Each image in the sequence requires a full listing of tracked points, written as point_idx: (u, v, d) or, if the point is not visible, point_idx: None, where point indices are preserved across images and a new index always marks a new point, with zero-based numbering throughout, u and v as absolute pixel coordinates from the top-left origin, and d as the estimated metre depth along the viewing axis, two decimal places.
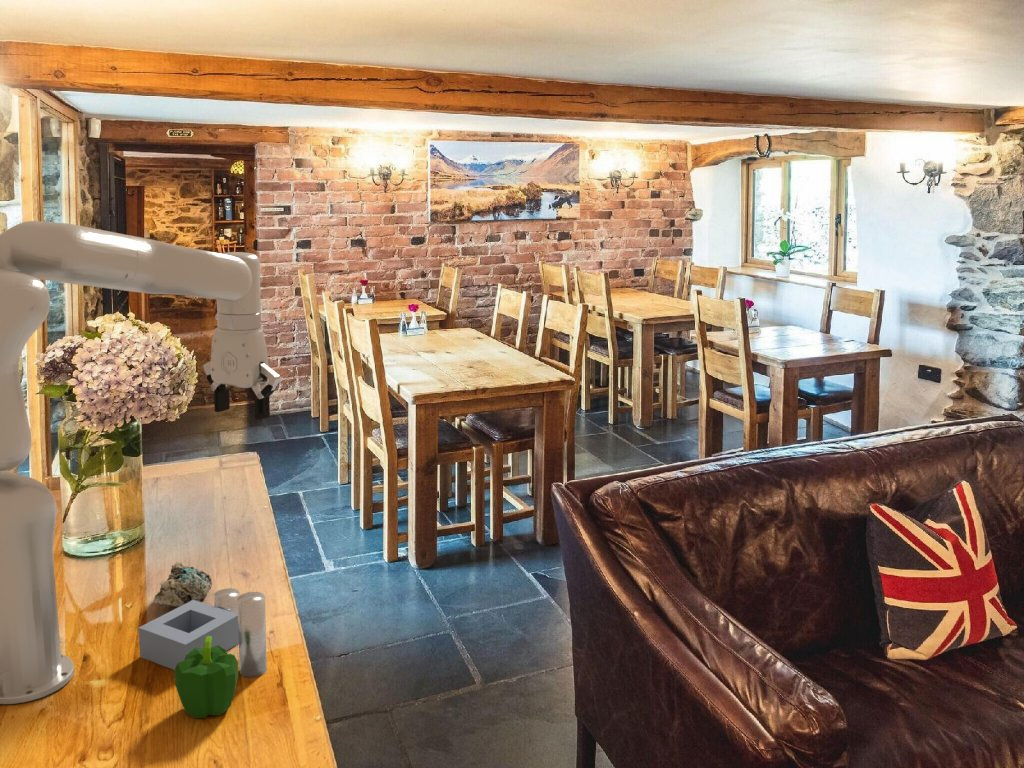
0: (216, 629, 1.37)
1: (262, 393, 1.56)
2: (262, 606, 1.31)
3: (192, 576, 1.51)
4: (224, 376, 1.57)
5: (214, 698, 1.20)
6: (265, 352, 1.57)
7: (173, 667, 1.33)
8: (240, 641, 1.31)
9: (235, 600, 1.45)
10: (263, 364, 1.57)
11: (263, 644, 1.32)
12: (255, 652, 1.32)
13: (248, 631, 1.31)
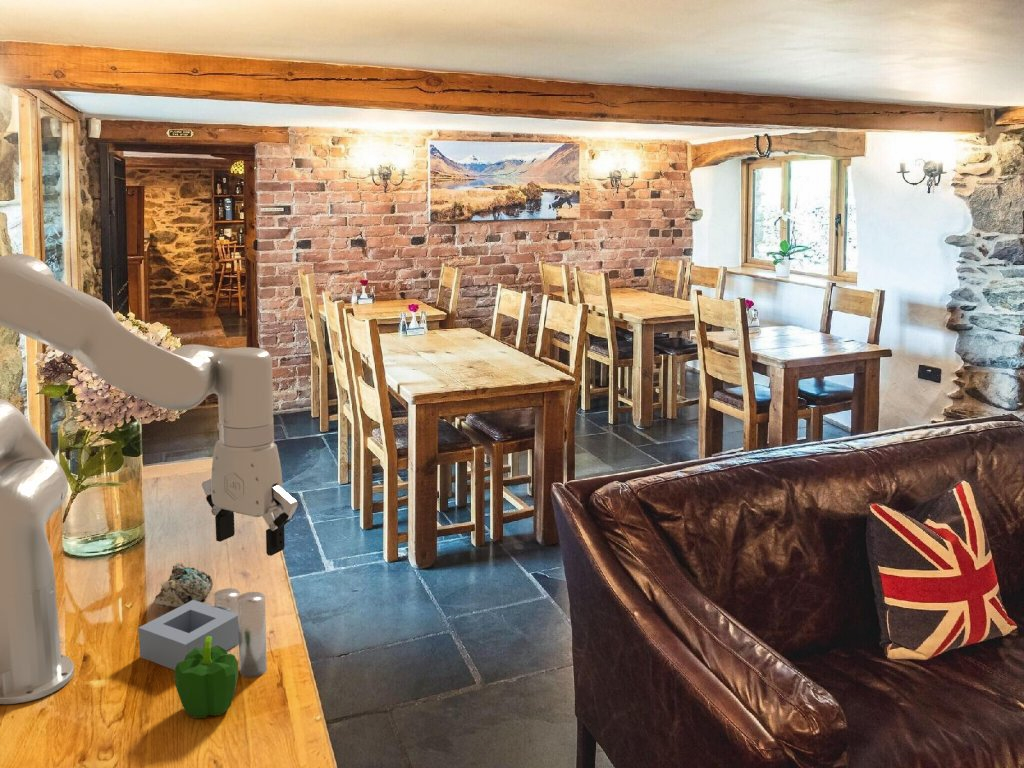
0: (216, 629, 1.37)
1: (275, 523, 1.25)
2: (262, 606, 1.31)
3: (193, 577, 1.51)
4: (228, 501, 1.26)
5: (214, 698, 1.20)
6: (279, 471, 1.26)
7: (173, 667, 1.33)
8: (240, 641, 1.31)
9: (235, 600, 1.45)
10: (277, 487, 1.25)
11: (263, 644, 1.32)
12: (255, 652, 1.31)
13: (248, 631, 1.31)
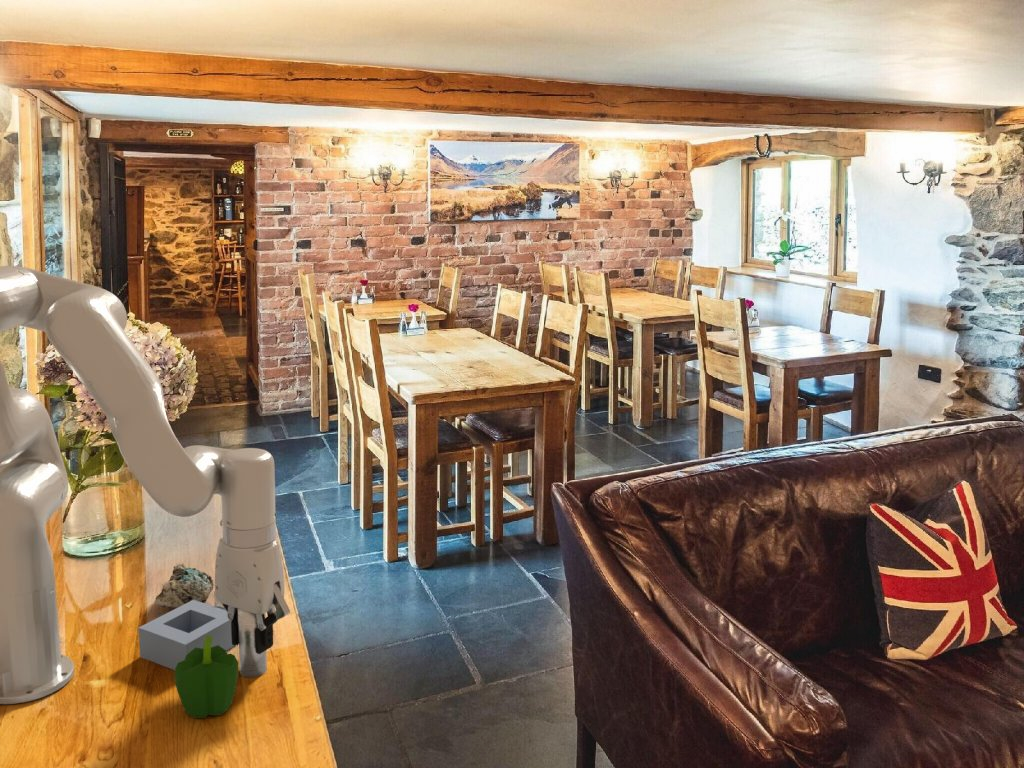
0: (216, 629, 1.37)
1: (265, 625, 1.30)
2: None
3: (193, 577, 1.51)
4: (231, 598, 1.29)
5: (215, 698, 1.20)
6: (281, 569, 1.29)
7: (173, 667, 1.33)
8: (240, 641, 1.31)
9: None
10: (276, 590, 1.29)
11: None
12: (255, 652, 1.31)
13: (249, 631, 1.31)
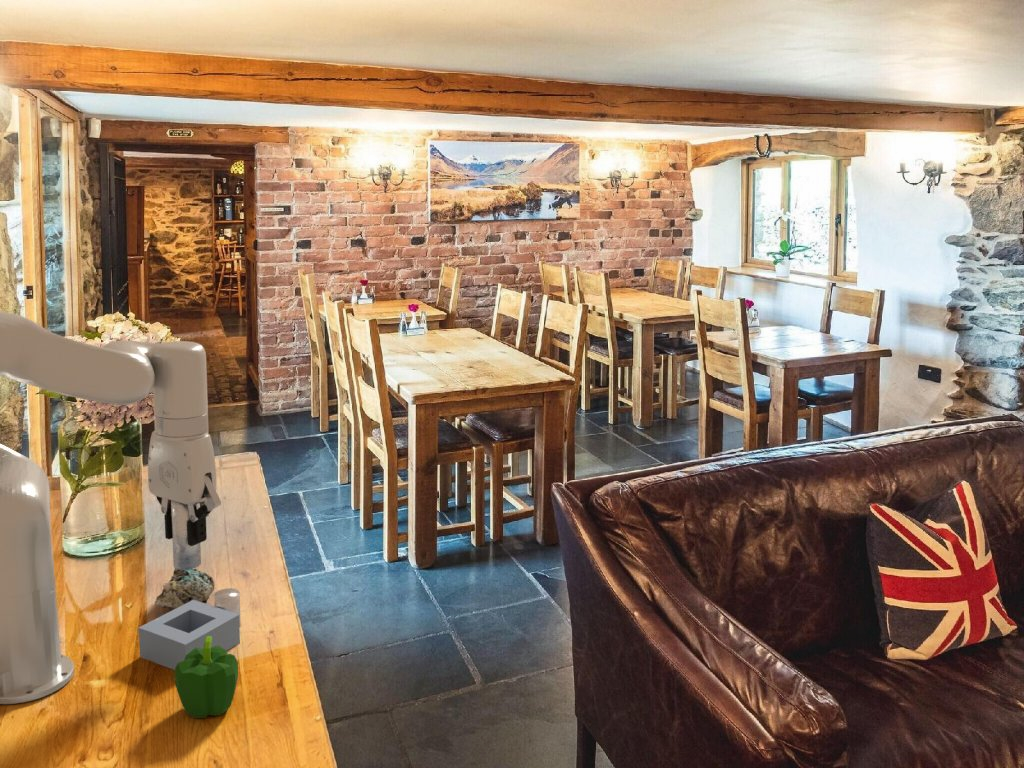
0: (216, 629, 1.37)
1: (196, 517, 1.31)
2: None
3: (194, 578, 1.51)
4: (163, 489, 1.31)
5: (214, 698, 1.20)
6: (212, 461, 1.31)
7: (173, 667, 1.33)
8: (173, 533, 1.33)
9: (235, 600, 1.45)
10: (208, 481, 1.31)
11: None
12: None
13: (181, 522, 1.32)
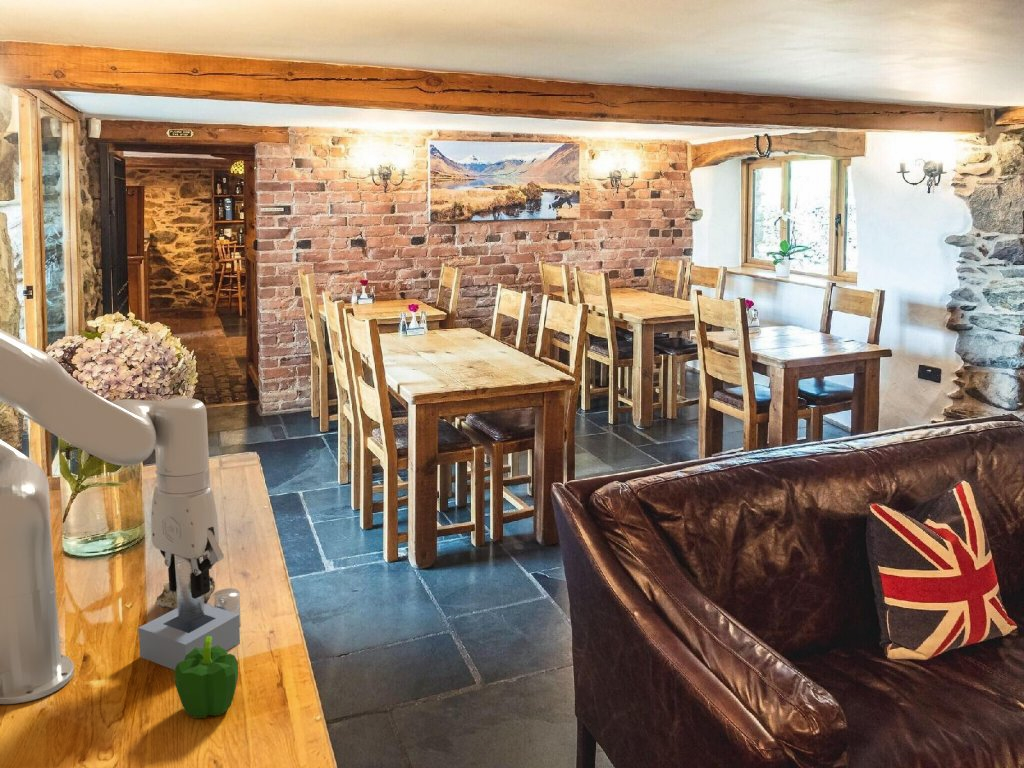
0: (216, 629, 1.37)
1: (200, 570, 1.33)
2: None
3: None
4: (166, 544, 1.33)
5: (214, 698, 1.20)
6: (214, 515, 1.33)
7: (173, 667, 1.33)
8: (177, 586, 1.35)
9: (235, 600, 1.45)
10: (210, 535, 1.33)
11: None
12: (191, 596, 1.35)
13: (185, 576, 1.34)
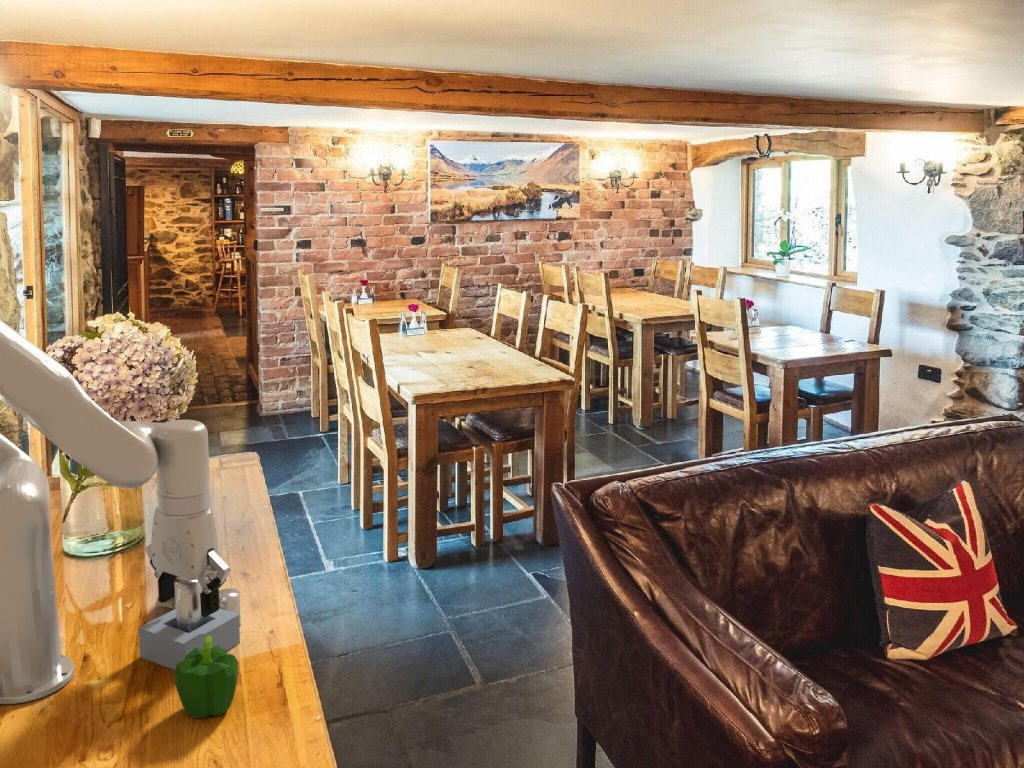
0: (216, 629, 1.37)
1: (209, 587, 1.33)
2: (198, 588, 1.36)
3: None
4: (166, 564, 1.34)
5: (214, 698, 1.20)
6: (214, 536, 1.34)
7: (173, 667, 1.33)
8: (177, 621, 1.36)
9: (235, 600, 1.45)
10: (212, 552, 1.33)
11: (200, 625, 1.37)
12: None
13: (185, 611, 1.36)
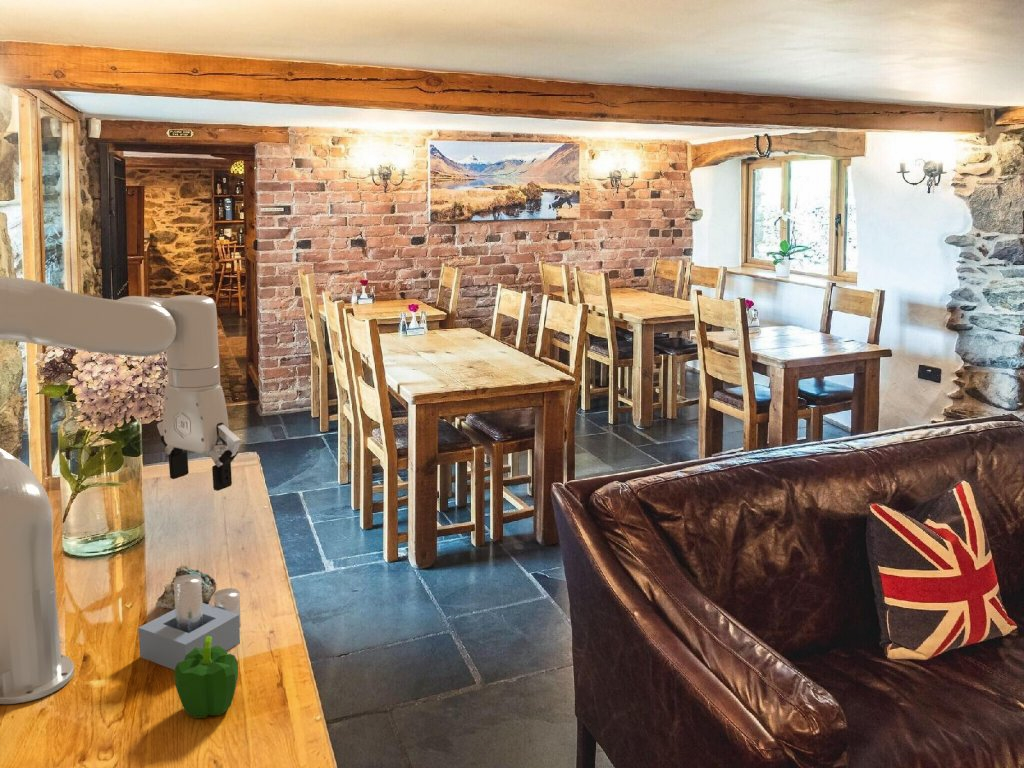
0: (216, 629, 1.37)
1: (220, 460, 1.34)
2: (198, 588, 1.36)
3: None
4: (177, 439, 1.35)
5: (214, 698, 1.20)
6: (224, 411, 1.35)
7: (173, 667, 1.33)
8: (177, 622, 1.36)
9: (235, 600, 1.45)
10: (221, 426, 1.34)
11: (199, 625, 1.37)
12: None
13: (185, 612, 1.36)
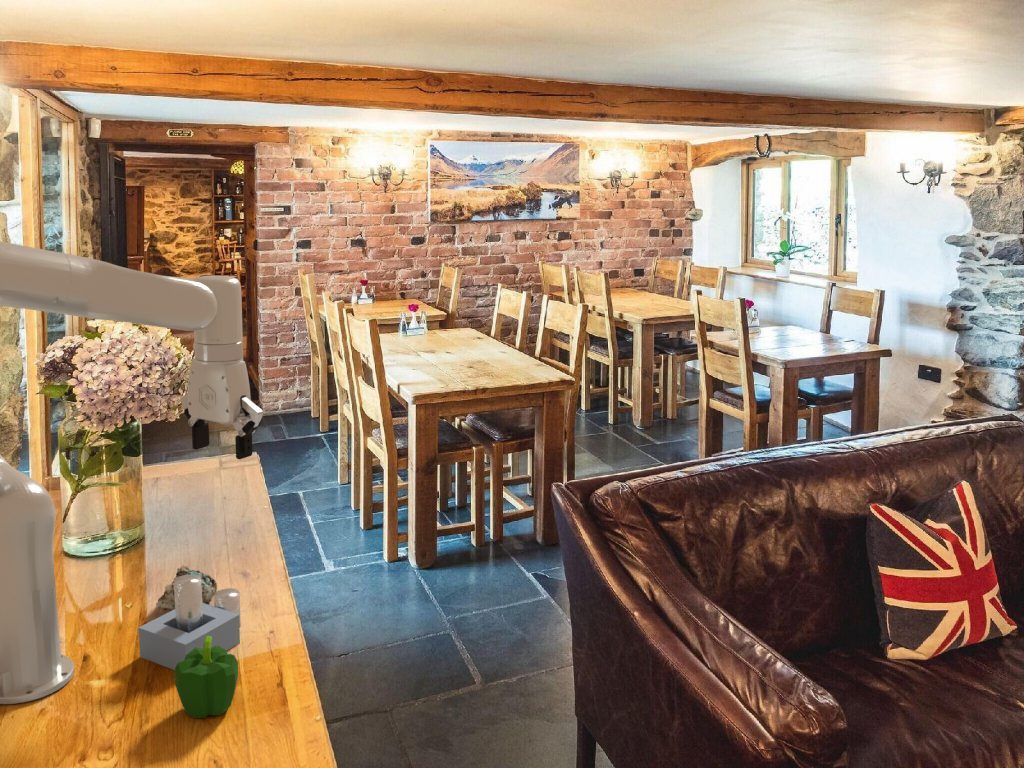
0: (216, 629, 1.37)
1: (243, 430, 1.43)
2: (198, 588, 1.36)
3: None
4: (202, 411, 1.44)
5: (214, 698, 1.20)
6: (247, 385, 1.44)
7: (173, 667, 1.33)
8: (177, 622, 1.36)
9: (235, 600, 1.45)
10: (245, 398, 1.43)
11: (199, 625, 1.37)
12: None
13: (185, 612, 1.36)
